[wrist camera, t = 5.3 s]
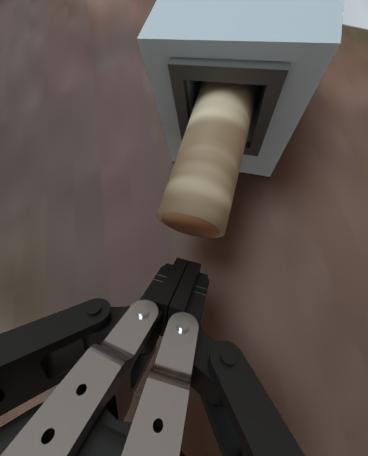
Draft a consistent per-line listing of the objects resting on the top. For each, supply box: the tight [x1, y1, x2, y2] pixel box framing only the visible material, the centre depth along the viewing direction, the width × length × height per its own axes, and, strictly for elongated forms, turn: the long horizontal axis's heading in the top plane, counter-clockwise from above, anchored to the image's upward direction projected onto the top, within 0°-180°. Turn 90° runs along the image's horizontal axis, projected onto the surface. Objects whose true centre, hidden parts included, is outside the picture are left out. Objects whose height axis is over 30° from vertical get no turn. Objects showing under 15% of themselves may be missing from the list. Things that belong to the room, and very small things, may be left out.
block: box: [137, 0, 344, 177], centre depth 16 cm, size 15×10×10 cm
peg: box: [157, 81, 259, 238], centre depth 12 cm, size 12×4×4 cm, turn 164°
